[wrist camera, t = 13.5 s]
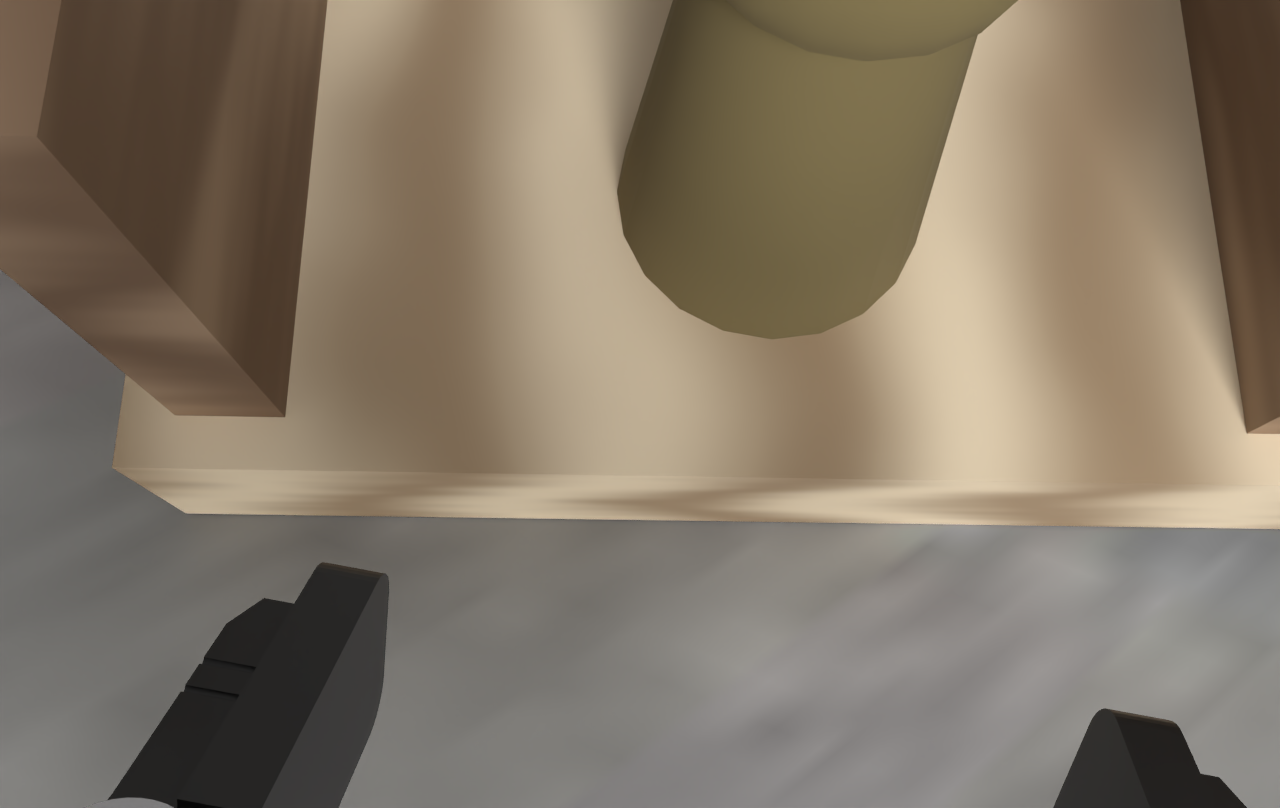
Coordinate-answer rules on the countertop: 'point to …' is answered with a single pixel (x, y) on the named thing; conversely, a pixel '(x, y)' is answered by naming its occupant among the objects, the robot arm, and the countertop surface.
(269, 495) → the wooden slotted rack
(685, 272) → the cork
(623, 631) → the countertop surface
